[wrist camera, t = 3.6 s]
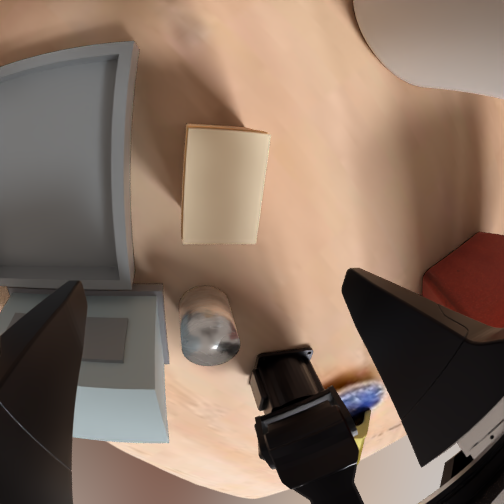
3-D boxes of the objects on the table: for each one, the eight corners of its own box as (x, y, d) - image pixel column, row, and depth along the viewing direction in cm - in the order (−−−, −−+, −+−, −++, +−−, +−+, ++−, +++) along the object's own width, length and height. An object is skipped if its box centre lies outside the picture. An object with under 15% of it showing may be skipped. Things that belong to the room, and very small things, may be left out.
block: (245, 126, 18) (272, 134, 13) (236, 208, 21) (256, 245, 16) (185, 122, 17) (187, 127, 12) (180, 207, 20) (181, 245, 15)
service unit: (162, 283, 22) (162, 384, 14) (169, 356, 26) (176, 445, 18) (11, 281, 18) (-35, 360, 10) (39, 351, 22) (17, 427, 14)
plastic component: (319, 439, 43) (372, 437, 40) (322, 408, 49) (371, 405, 46) (322, 467, 52) (362, 466, 49) (325, 442, 58) (363, 441, 55)
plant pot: (402, 353, 39) (458, 430, 24) (399, 267, 29) (502, 370, 14) (478, 292, 38) (536, 348, 24) (490, 201, 28) (578, 259, 14)
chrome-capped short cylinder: (230, 284, 24) (243, 324, 20) (226, 323, 26) (237, 363, 22) (178, 286, 23) (180, 327, 19) (179, 325, 25) (183, 367, 21)
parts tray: (139, 49, 14) (134, 41, 12) (135, 271, 21) (131, 289, 19) (-24, 83, 10) (-42, 84, 8) (-6, 269, 17) (-18, 285, 15)
